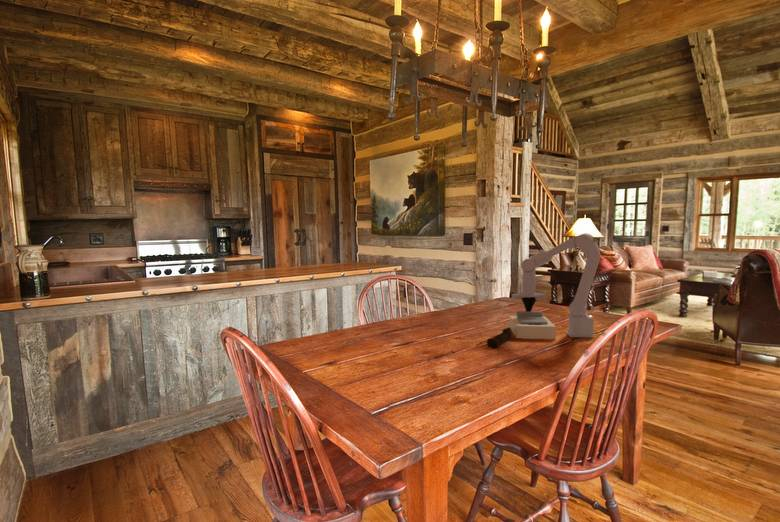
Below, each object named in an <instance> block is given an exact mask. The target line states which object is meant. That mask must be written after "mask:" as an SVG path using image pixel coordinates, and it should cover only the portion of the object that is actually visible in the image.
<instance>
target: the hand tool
mask: <svg viewBox="0 0 780 522" xmlns="http://www.w3.org/2000/svg"><path fill="white" fill-rule="evenodd" d="M511 338H512V330H511V329H510V327H507V328H504V329H503V330H502V332H500V333H499V334H497V335H496V336H493V337H492V338H488V339H487V341H486V346H487V348H490V349H496V348H497V347H498V346H499V345H500V344H502V343H504V342H506V340H508V341H510V340H509V339H511Z"/></svg>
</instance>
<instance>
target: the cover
mask: <svg viewBox="0 0 780 522" xmlns="http://www.w3.org/2000/svg"><path fill="white" fill-rule="evenodd" d="M516 316H517V318H518V320H519V321H520V322H521V323H534V324H548V322H547V321H546V320H545V319H544V318H543V317H542V316H543V311H539V310H538V311H534V310H533V311H532V310H531V311H526V310H523V311H522V310H521V311H520V310H519V311H518V310H517V311H516Z"/></svg>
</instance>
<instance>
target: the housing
mask: <svg viewBox="0 0 780 522" xmlns="http://www.w3.org/2000/svg"><path fill="white" fill-rule="evenodd" d="M542 317H543V318H544V319H545V320H546V321H547V322H548V324H538V325H529V324H530V323H521V322H520V321H519V320H518V318H517V315H509V328H510V329H511V333H512V334H513V335H514V337H515V338H516V339H517V338H522V339H521V340H523V339H525V340H528V339H529V340H556V339H557V338H556V337H557V335H556V334H557V326H556V325H555V324H554V323H553V322H552V321H550V320H549V318H548V317H546V316H544V315H542Z"/></svg>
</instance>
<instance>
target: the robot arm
mask: <svg viewBox="0 0 780 522" xmlns="http://www.w3.org/2000/svg"><path fill="white" fill-rule="evenodd" d="M577 248H578V249H579V250H580V251H582V252H583V254H584V255H585V257H586V261H585V265H584V267H583V271H582V274H581V277H580V281H579V284H578V287H577V290H576V293H575V295H574V298H573V300H572V301H571V302H570V304H569V306H568V311H569V313H568V331H567V330H565V331H564V332H565V333H566V334H567V336H569V337H570V338H591V339H592V338H593V337H594V338H595V336H594V329H595V328H594V327H595V326H594V325H595V322H594V318H593V317H594V316H592V315H589V314H588V313H587V309H588V299H589V294H590V291H591V289H592V284H593V282H594V279H595V275H596V273H597V269H598V266H599V264H600V260H601V256H602V254H601V252H600V248H599V245H598V242H597V239H595V238H594V236H592V234H590V233H582V234H579V235H578V236H574V237H572V238H569V239H566V240H565V241H562V242H561V243H560V244H558V245H556V246H554V247H552V248H551V249H549V250H548V249H540V250H539V251H538V252H537V253H535V254H534V255H530V256H529V258H525V259H524V260H523V261H521V265H520V266H521V269H522V279H521V281H522V282H521V285H522V286H521V288H522V289H521V292H520V293H512V294H511V296H512V297H511V298H512V299H513V300H515V299H521V301H522V303H523V305H524V309H525V311H532V309H533V307H534V304H535V303H536V301H537V299H546V294H545V293H543V292H541V293H539V292H538V293H537V292H536V279H537V278H536V275H537V274H536V270H537V268H539V267H541V266H544V265H545V264H548V263H549V262H551V261H552V260H553V257H554V256H555V255H558V254H560V253H562V252H565V251H566V250H568V249H577Z"/></svg>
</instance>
